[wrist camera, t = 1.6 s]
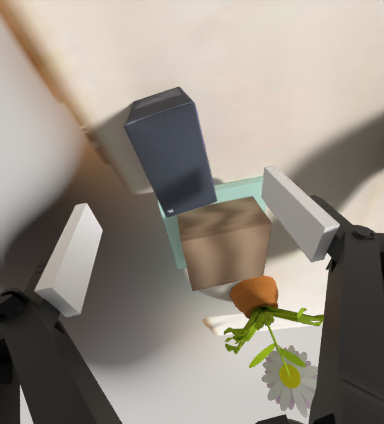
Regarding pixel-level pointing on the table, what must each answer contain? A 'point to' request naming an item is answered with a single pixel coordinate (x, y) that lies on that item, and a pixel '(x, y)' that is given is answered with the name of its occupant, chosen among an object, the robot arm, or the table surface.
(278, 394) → the decorative plant
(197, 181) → the small box
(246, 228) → the walnut block
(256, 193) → the baseplate
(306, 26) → the table surface
